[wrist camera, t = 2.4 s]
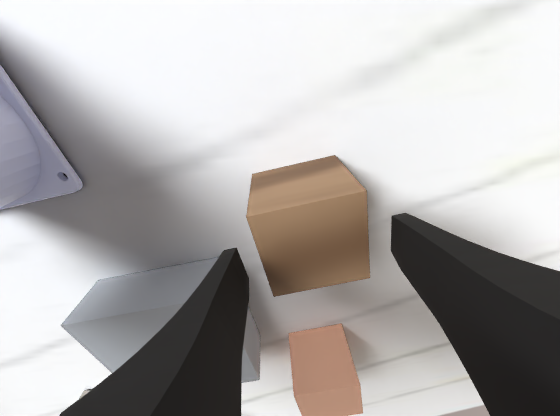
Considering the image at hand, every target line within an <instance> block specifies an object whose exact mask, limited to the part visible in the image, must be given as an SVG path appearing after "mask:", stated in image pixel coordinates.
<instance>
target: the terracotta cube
mask: <svg viewBox="0 0 560 416" xmlns="http://www.w3.org/2000/svg"><path fill="white" fill-rule="evenodd" d="M289 345H290V356H291V368H292V379H293V391H294V397H295V400H296V402H297V405H298V407H299V410H300V412H301V414H302V416H348V415H354V414H361V413H363V409H362V398H361V388H360V383H359V379H358V376H357V373H356V369H355V366H354V363H353V360H352V356H351V353H350V350H349V347H348V343H347V340H346V337H345V333H344V330H343V327H342V324H336V325H331V326H325V327H320V328H314V329H309V330H304V331H298V332H293V333H289Z"/></svg>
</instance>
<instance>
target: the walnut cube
mask: <svg viewBox="0 0 560 416" xmlns="http://www.w3.org/2000/svg"><path fill="white" fill-rule="evenodd" d="M246 218H247V221H248V223H249V226H250V229H251V232H252V235H253V238H254V241H255V244H256V247H257V250H258V252H259V255H260V258H261V261H262V264H263V267H264V270H265V273H266V276H267V279H268V281H269V284H270V287H271V290H272V293H273V296H274V297H275V296H280V295H285V294H290V293H295V292H300V291H306V290H311V289H316V288H321V287H326V286H331V285H336V284H341V283H347V282H352V281H357V280H362V279H367V278H370V266H369V240H368V214H367V191H366V189H365V188H364V187H363V186H362V185H361V184H360V183H359V182H358V180H357V179H356V178H355V177H354V176H353V175H352V174H351V173H350V171H349V170H348V169H347V168H346V167H345V166H344V165H343V164H342V162H341V161H340V160H339V159H338V158H337V157H336V156H335V155H333V156H329V157H325V158H320V159H316V160H312V161H307V162H303V163H298V164H294V165H290V166H285V167H281V168H277V169H272V170H268V171H263V172H259V173H255V174H252V180H251V187H250V194H249V201H248V208H247V215H246Z"/></svg>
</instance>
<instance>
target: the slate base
mask: <svg viewBox="0 0 560 416" xmlns="http://www.w3.org/2000/svg"><path fill="white" fill-rule="evenodd" d="M218 258H219V257H217V258H211V259H206V260H201V261H196V262H190V263H185V264H180V265H175V266H169V267H164V268H159V269H154V270H148V271H143V272H138V273H133V274H127V275H122V276H117V277H112V278H106V279H101V280H98V281H97V282H96V283H95V285H94V286H93V287H92V288H91V289H90V291H89V292H88V293H87V294H86V295H85V297H84V298H83V299H82V300H81V301H80V303H79V304H78V305H77V306H76V308H75V309H74V310H73V311H72V312H71V314H70V315H69V316H68V317H67V318H66V320H65V321H64V322H63V323H62V324H61V326H62V327H63V328H64V329H65V330H66V331H67V332H68V333H69V334H70V335H71V336H72V337H74V338H75V339H76V340H77V341H78V342H79V343H80V344H81V345H82V346H83V347H84V348H85V349H87V350H88V351H89V352H90V353H91V354H92V355H93V356H94V357H95V358H96V359H97V360H99V361H100V362H101V363H102V364H103V365H104V366H105V367H106V368H107V369H108V370H109V371H110V372H112V373H113V372H114V371H116V370H117V369H118V368H119V367H120V366H122V365H123V364H124V363H125V362H126V361H127V360H129V359H130V358H131V357H132V356H133V355H134V354H135V353H136V352H138V351H139V350H140V349H141V348H142V347H143V346H144V345H145V344H146V343H147V342H148V341H149V340H150V339H151V338H152V337H153V336H154V335H155V334H156V333H157V332H159V331H160V330H161V329H162V328H163V327H164V326H165V324H166V323H167V322H168V321H169V320H170V319H171V318H172V317H173V316H174V315H175V314H176V313H177V311H178V310H179V309H180V308H181V307H182V306H183V305H184V303H185V302H186V301H187V300H188V298H189V297H190V296H191V295H192V293H193V292H194V291H195V290H196V288H197V287H198V286H199V285H200V283H201V282H202V280H203V279H204V278H205V276H206V275H207V274H208V272H209V271H210V269H211V268H212V267H213V265H214V264H215V262H216V261H217V259H218ZM259 379H260V333H259V331H258V329H257V326H256V324H255V321H254V319H253V316H252V314H251V311H250V309H249V306H248V311H247V320H246V328H245V336H244V344H243V354H242V379H241V383H243V382H250V381H256V380H259Z"/></svg>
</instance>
